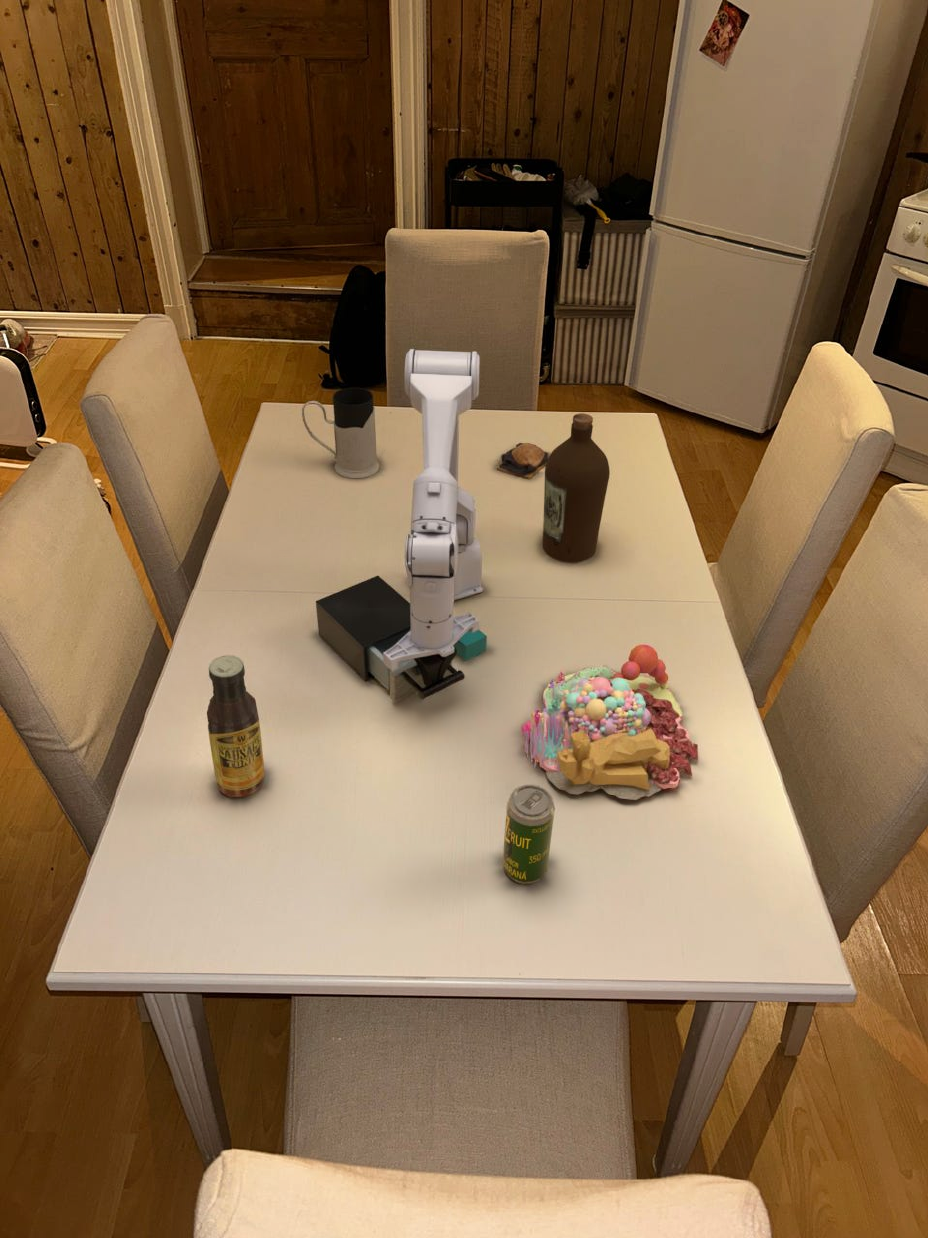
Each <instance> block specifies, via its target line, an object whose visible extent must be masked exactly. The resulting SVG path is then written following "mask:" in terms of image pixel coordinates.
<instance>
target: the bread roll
mask: <svg viewBox="0 0 928 1238" xmlns="http://www.w3.org/2000/svg"><path fill="white" fill-rule="evenodd" d="M551 453H552V452H548V451H544V450H543V449H542V447H539V446H538V445H536V444H534V443H530V442H519V443H518V444H515V447H514V448H512V449H510V450H508V451H506V452H505V453H502V454H501V456H500V458H501V461H500V462H499V463H498V465H497V466H496V470H498V471H499V472H503V473H505V474H507V475H508V474H509V475H511V474H512V475H514V476H515V477H521V478H525V479H528V480H529V479H531V478H533V477H534V476H535V475H536V474H537V473H539V471H540V470H541V469H542V468H544V467H546V463H547V461H548V458H549V456H550V454H551Z"/></svg>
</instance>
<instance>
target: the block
mask: <svg viewBox="0 0 928 1238" xmlns="http://www.w3.org/2000/svg"><path fill="white" fill-rule="evenodd" d="M487 637H488V636H487V635H486V634H485V633H484V632H483V631H481V629H479V628H478V630H477V631H475V632H470V631H467V632H466V633H465V634H464V635H463V636H462V637H461V638H460V639H459V640H458V641H457V642H456V643H455V644H454V645H453V646H455V647H456V649H457V655H458V656H459V657H460V658H461V659H462V660H463V661H465V662H467V661H469V660H470V659H474V657H477V656H479V655H481V654H483V653H484V652H487V641H488V640H487V639H488V638H487Z"/></svg>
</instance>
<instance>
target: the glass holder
mask: <svg viewBox="0 0 928 1238" xmlns="http://www.w3.org/2000/svg"><path fill="white" fill-rule="evenodd" d="M312 404H315V405H317V406H318V407H319V408H320V409H321V410H322V413H323V419H324V421H325V422H326V423H327V424H331V425H333V433H334V447H335V450H334V449H332V448H331V447H329V446H328V444H326V443H324V442H323V441H321V440H320V439H319V438H318V437H317V436H316V435H314V434H313V432H312V430H311V429H310V427H309V426H308V423H307V421H306V416H305V408H306V406H308V405H312ZM332 404H333V420H329V419H328V418H327V412H326V409H325V407H324V405H322V403H321V402H319V401H317V400H310V401H307V402H306V403H304V404H303V406H302V408H301V417H302V423H303V425H304V427H305V430H306V431H307V432H308V434H309V435H310V437H311V438H312V439H313V440H314V441H315V442H317V443H318V444H319V445H321V446H322V447H323V448H324V449H326V450H327V451H329V452H330V453H331V454H333V456H334V460H336V461H335V465H334V471H335V472H336V474H337V475H340V476H341V477H343V478H347V479H364V478H369V477H371V476H373V475H375V474H377V472H378V471H379V470H380V464H379V462H378V457H377V454H378V453H377V434H376V413H375V412H376V411H375V406H374V394H373V392H372V391H370V390H368V389H366V388H362V387H345V388H342V389H339V390H337V391H336V392H334V394H333V395H332Z"/></svg>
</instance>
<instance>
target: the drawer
mask: <svg viewBox="0 0 928 1238" xmlns="http://www.w3.org/2000/svg"><path fill="white" fill-rule="evenodd" d="M410 630H411V629H409V630H407V631H405V632H403V633H401V634H398V635H396V636H394V637H392V638H390V639H387V640H385V641H383V642H381V643H379V644H376V645H374V646H372V647H370V648H368V649H367V659H368V671H369V672H370V673H371V674H372V675H373V676H374V677H375V678H374V679H376V680H377V681H378V682H379V683H380V684H381V685H382V686H383V687H384V688H385V689H386V690H387V691H388V692H389V695H390V699H391V700H392V701H393V702H394V703H397V702H399V701H401V700H404V699H405V698H407V697H410V696H411V695H413V694H416V693H417V694H418V697H419V698H420V699H421V700H425V699H427V698H429V697H432V696H433V695H435V694H437V693H439V692H441V691H444V690H445V689H447V688H449V687H451V686H453V685H455V684H457V683H459V682H461V681H463V680H464V679H465V674H464V672H463V671H462V670H461V669H458V670H457V669H456V668H455V667H453V660H452V661H451V663H450V664H449V666H448V668H447V669H446V672H445V674H444V676H443V678H442V679H440V680H438V681H436V682H434V683H432V684H430V685H428V686H426V685H424V682H423V678H422V675H421V672H420V670H419V667H418V665H417V663H416V662H415V660H414V658H413V659H408V660H406V661H404V662H401V663H399V664H398V668H397V669H395V670H393V671H391V670H390V669H389V668H388V667H387V666H386V665H385V664H384V660H383V652H385V651H387V650H389V649H390V648H392V647H393V646H394V645H395V644H396V643H397V642H398V641H400V640H401V639H402V638H403V637H404V636H405V635H406V634H407V633H408V632H409V631H410Z"/></svg>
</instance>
